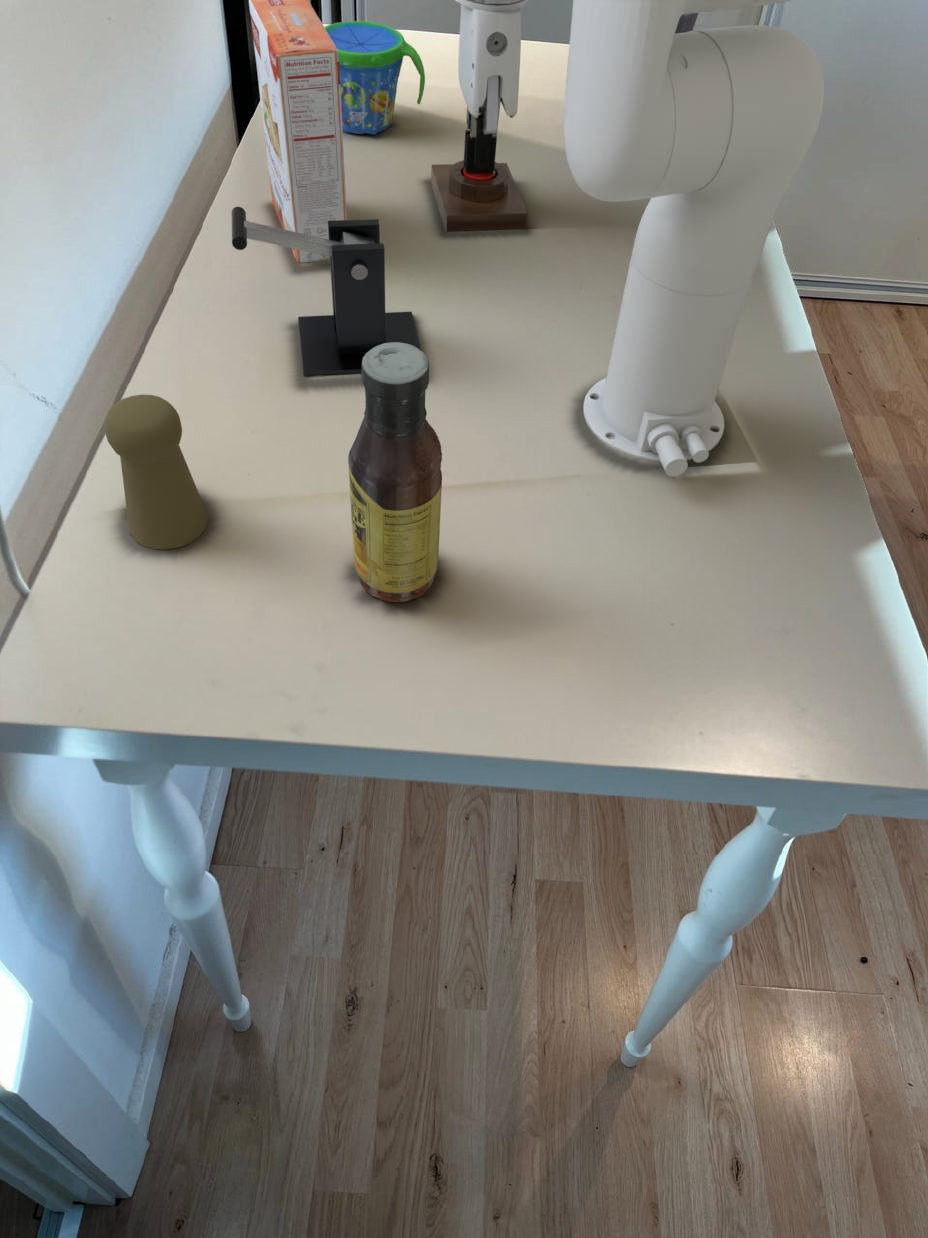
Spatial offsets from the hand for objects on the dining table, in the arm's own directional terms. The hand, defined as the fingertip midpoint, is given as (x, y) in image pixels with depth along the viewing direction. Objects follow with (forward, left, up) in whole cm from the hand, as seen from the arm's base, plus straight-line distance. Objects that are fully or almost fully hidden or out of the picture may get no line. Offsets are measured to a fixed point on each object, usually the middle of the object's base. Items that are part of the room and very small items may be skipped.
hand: (478, 169), depth 105 cm
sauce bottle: (-56, +16, -4) cm, 59 cm away
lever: (-27, +21, +6) cm, 35 cm away
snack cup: (+22, +11, -4) cm, 25 cm away
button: (0, 0, -2) cm, 2 cm away
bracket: (-27, +16, -4) cm, 32 cm away
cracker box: (-5, +19, -4) cm, 21 cm away
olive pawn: (-48, +33, -4) cm, 59 cm away
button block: (0, 0, -4) cm, 4 cm away
